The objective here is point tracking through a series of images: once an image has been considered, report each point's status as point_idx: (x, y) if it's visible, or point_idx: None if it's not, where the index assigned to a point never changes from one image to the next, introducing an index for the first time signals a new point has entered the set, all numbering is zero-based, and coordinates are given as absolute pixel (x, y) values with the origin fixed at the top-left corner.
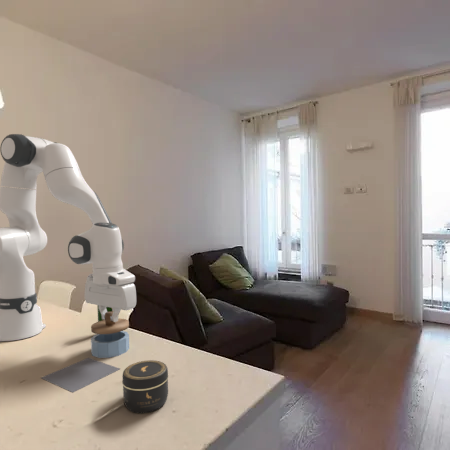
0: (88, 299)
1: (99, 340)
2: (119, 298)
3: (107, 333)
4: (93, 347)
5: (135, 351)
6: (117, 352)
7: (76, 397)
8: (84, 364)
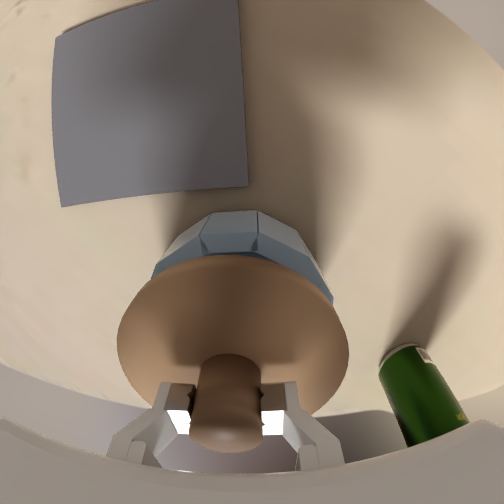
0: (470, 454)
1: None
2: (3, 490)
3: (139, 291)
4: (245, 222)
5: None
6: None
7: (49, 46)
8: (195, 135)
